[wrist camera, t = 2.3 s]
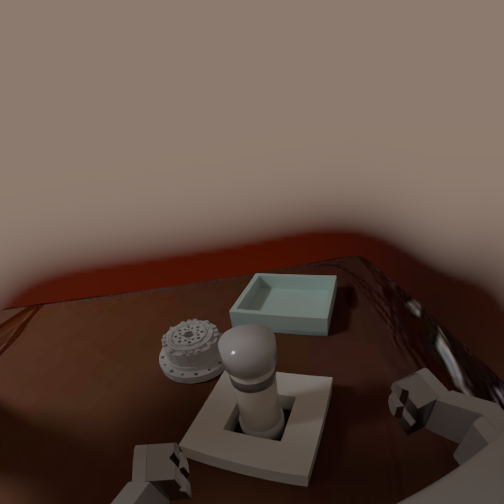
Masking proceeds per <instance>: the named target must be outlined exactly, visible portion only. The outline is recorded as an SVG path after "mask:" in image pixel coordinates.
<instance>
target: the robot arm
mask: <svg viewBox="0 0 504 504" xmlns="http://www.w3.org/2000/svg"><path fill="white" fill-rule="evenodd" d="M391 390H392V391H393V392H392V393H391V395H390V396H389V400H388V404H389V409H390V411H391V413H392V414H393V416H394V417H396V418H399V419H400V423H399V424H400V426H401V427H402V429H403V430H404V432H405V433H406V434H407V435H409V434H411V433H413V432H415V431H417V430H419V429H421V428H423V427H425V428H426V429H428V430H430V431H432V432H434V433H436V434H438V435H441V436H443V437H445V438H447V439H449V440H451V441H454V442H456V443H458V444H460V445H459V446H458V448H457V449H456V451H455V452H454V455H453V456H454V458H455V459H456V460H457V462H458V463H459V465H460V466H459V467H457V468H456V469H455V470H453V471H452V472H450V473H449V474H447V475H446V476H444V477H442V478H441V479H439V480H438V481H436V482H434V483H433V484H431V485H429V486H428V487H426V488H424V489H423V490H421V491H419V492H417V493H416V494H414V495H412V496H410V497H408V498H406V499H404V500H403V501H401V502H399V503H397V504H504V410H503V409H502V408H501V407H500V406H499V405H498V404H497V403H493V402H490V401H486V400H483V399H479V398H476V397H472V396H469V395H465V394H462V393H459V392H455V391H450V392H449V391H448V390H447V389H446V388H445V387H444V386H443V385H442V384H441V383H440V381H439V380H438V379H437V378H436V377H435V376H434V375H433V374H432V373H431V372H430V371H429V370H428V369H426V368H423V369H421V370H419V371H417V372H415V373H412V374H410V375H408V376H406V377H404V378H402V379H400V380H398V381H396V382H394V383H393V384H392V387H391ZM188 476H189V466H188V462H187V459H186V457H185V455H184V453H183V452H180V451H179V446H178V444H177V443H176V442H172V443H162V444H146V445H136V446H135V448H134V455H133V470H132V482H128V483H127V484H126V486H125V487H124V488H123V489H122V491H121V492H120V493H119V494H118V496H117V497H116V498H115V499H114V500H113V502H112V503H111V504H169V503H170V500H181V499H191V498H192V497H191V485H190V483H189V482H188V480H187V479H186V478H187V477H188Z"/></svg>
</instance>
